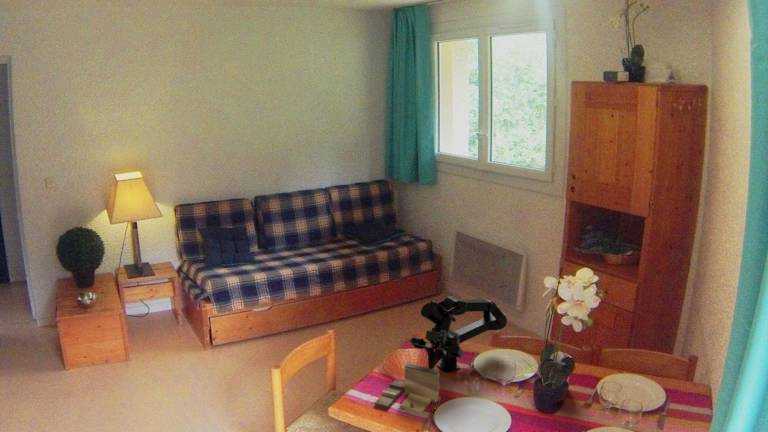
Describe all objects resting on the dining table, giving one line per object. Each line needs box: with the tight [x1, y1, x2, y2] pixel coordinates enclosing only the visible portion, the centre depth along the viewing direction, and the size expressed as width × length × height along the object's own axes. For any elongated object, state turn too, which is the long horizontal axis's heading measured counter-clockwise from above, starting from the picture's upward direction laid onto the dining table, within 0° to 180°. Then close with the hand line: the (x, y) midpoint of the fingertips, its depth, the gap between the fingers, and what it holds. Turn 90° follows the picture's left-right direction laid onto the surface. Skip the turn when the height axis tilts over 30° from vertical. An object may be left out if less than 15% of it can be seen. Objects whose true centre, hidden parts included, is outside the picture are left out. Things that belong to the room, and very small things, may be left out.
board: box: [374, 380, 405, 410], centre depth 213 cm, size 16×5×2 cm, turn 153°
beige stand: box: [399, 363, 440, 414], centre depth 207 cm, size 10×12×11 cm
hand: (430, 369), depth 217 cm, fingers closed
